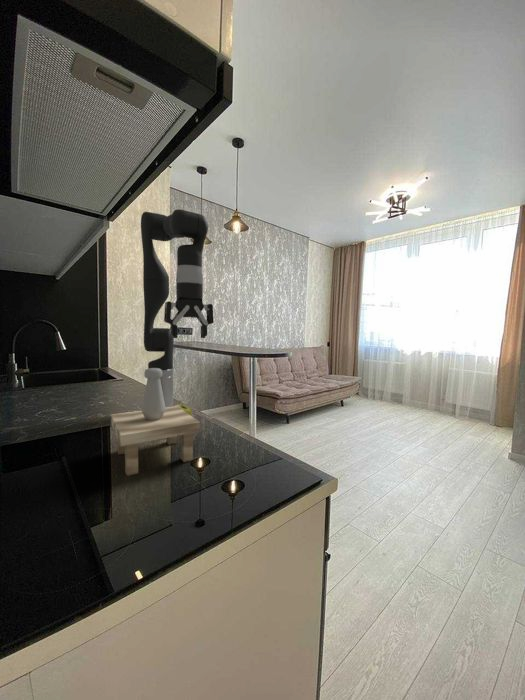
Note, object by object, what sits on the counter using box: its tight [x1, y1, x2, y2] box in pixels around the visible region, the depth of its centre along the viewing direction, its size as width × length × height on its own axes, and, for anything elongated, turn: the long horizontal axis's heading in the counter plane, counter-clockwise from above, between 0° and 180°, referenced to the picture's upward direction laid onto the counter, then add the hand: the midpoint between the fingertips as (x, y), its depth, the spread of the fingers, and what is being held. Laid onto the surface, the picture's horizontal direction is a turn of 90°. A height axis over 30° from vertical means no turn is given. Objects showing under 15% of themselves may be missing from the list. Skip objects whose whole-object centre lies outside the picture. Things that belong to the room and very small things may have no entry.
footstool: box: [110, 405, 201, 476], centre depth 76 cm, size 18×18×10 cm
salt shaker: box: [140, 368, 165, 421], centre depth 75 cm, size 6×6×13 cm
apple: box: [173, 400, 193, 417], centre depth 96 cm, size 8×8×10 cm
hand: (189, 337), depth 87 cm, fingers open, 8 cm apart
